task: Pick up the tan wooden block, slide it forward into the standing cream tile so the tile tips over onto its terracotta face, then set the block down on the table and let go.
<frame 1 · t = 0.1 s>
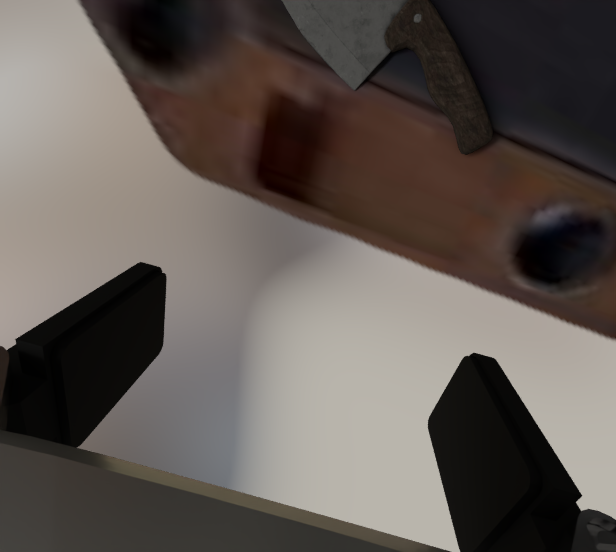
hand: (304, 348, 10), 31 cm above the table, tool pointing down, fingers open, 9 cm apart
cleaver: (380, 38, 32), on the table
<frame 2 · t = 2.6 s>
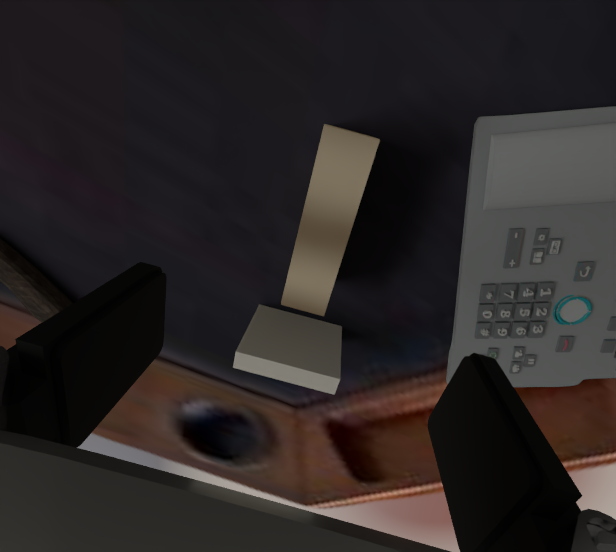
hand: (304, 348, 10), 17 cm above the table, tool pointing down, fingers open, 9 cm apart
tile: (298, 322, 30), on the table
tan wooden block: (329, 210, 26), on the table
office telephone: (584, 263, 26), on the table
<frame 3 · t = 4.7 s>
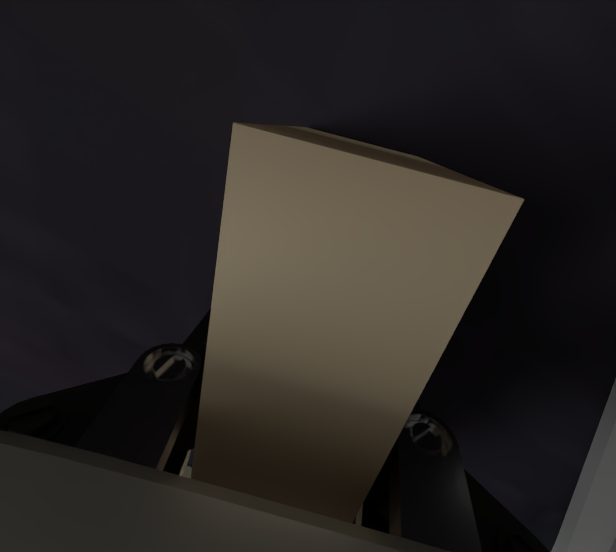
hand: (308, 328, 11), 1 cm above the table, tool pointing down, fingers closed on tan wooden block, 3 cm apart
tan wooden block: (310, 319, 11), on the table, touching gripper
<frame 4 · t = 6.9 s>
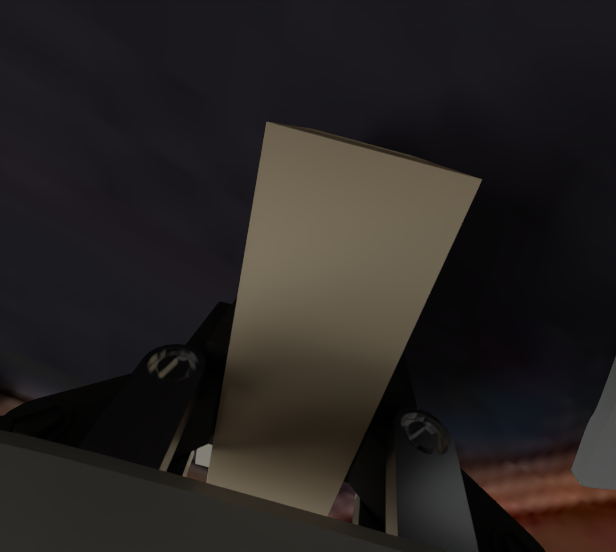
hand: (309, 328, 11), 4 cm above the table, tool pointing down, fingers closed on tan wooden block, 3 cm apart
tan wooden block: (314, 302, 13), point 2 cm above the table, touching gripper
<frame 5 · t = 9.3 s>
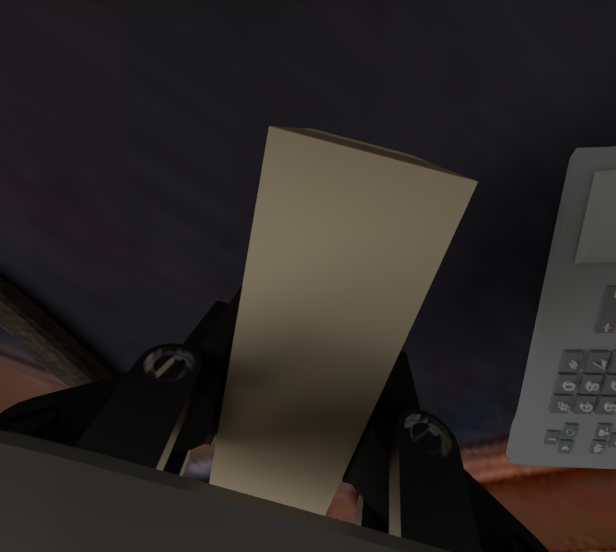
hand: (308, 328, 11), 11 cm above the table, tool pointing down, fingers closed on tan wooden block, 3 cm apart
tan wooden block: (315, 300, 13), point 9 cm above the table, touching gripper
when the fingers open (1 cm above the table, at t = 11.6 s): tan wooden block stays where it is, on the table.
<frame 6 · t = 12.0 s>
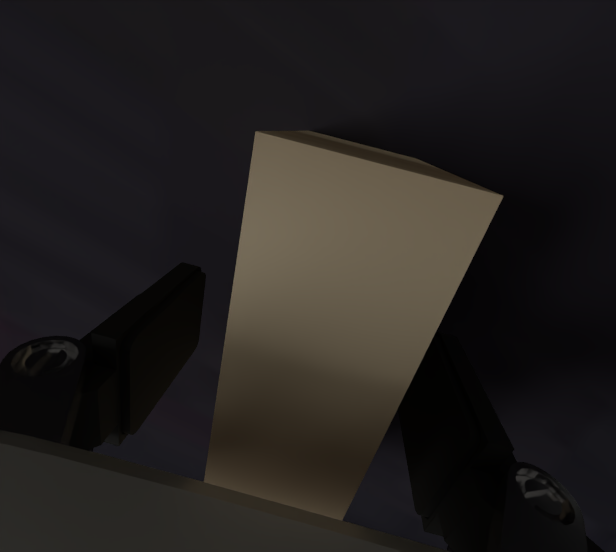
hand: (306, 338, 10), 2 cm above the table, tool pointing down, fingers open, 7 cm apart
tan wooden block: (314, 312, 12), on the table
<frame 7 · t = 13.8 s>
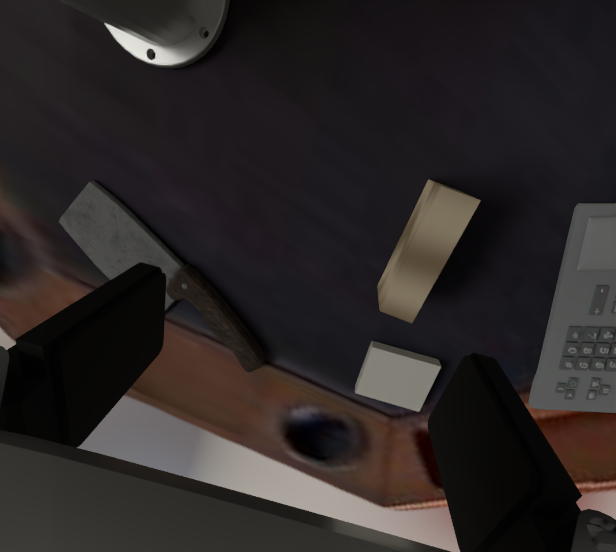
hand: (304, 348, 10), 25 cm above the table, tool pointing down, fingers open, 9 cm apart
cleaver: (171, 285, 40), on the table
tile: (405, 352, 37), point 1 cm above the table, tilted 90°
tan wooden block: (415, 241, 33), on the table
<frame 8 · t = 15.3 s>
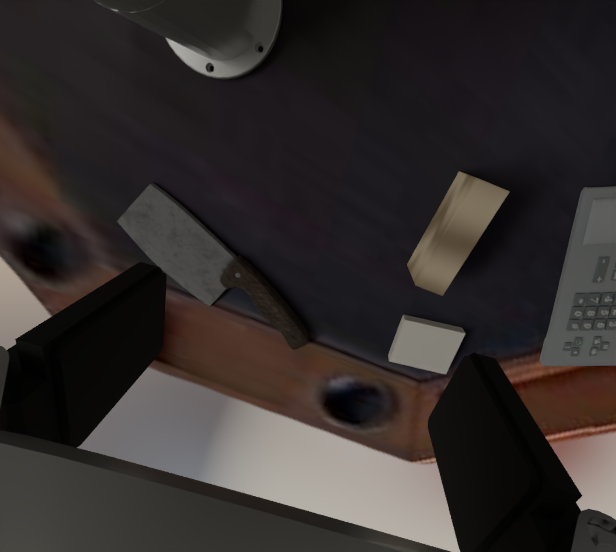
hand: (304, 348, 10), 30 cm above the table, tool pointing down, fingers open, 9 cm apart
cleaver: (222, 274, 45), on the table
tile: (433, 323, 42), point 1 cm above the table, tilted 90°
tan wooden block: (443, 225, 38), on the table
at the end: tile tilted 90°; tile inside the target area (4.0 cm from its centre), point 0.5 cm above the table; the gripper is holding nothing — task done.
